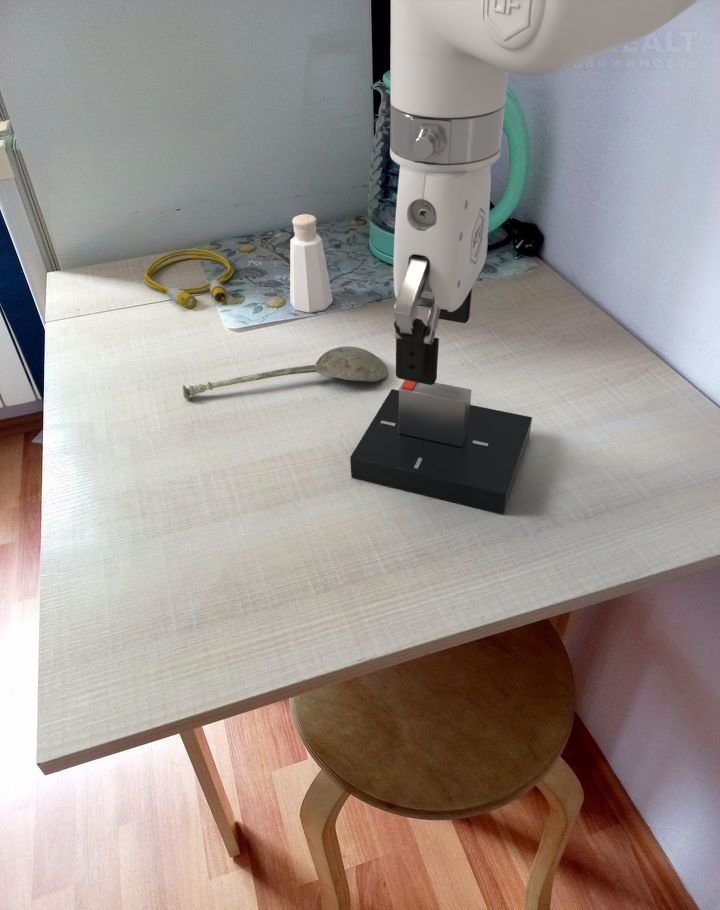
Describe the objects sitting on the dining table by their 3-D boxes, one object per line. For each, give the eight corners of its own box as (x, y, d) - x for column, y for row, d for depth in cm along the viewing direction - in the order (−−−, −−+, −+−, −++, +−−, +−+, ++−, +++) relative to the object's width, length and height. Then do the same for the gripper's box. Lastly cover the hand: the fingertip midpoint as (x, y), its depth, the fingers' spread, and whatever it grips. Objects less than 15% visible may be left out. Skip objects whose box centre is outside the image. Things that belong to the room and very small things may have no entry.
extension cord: (129, 312, 89) (125, 298, 87) (157, 257, 101) (154, 244, 99) (225, 310, 88) (223, 295, 87) (242, 255, 100) (240, 241, 99)
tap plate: (529, 437, 68) (532, 415, 66) (503, 515, 60) (506, 492, 58) (391, 408, 72) (391, 387, 70) (351, 477, 64) (349, 455, 63)
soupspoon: (394, 391, 75) (380, 361, 80) (395, 364, 73) (381, 334, 78) (184, 416, 72) (184, 382, 77) (179, 388, 70) (179, 355, 75)
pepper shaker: (292, 292, 91) (283, 209, 84) (334, 292, 91) (329, 208, 84) (287, 313, 87) (277, 227, 80) (331, 313, 87) (325, 227, 80)
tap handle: (467, 434, 64) (472, 387, 61) (462, 447, 63) (465, 400, 60) (405, 420, 66) (406, 374, 63) (398, 433, 65) (398, 386, 61)
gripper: (466, 183, 40) (448, 418, 52) (527, 101, 52) (502, 306, 64) (345, 169, 43) (353, 397, 54) (430, 93, 55) (423, 292, 66)
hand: (434, 347), depth 59 cm, fingers open, 9 cm apart
